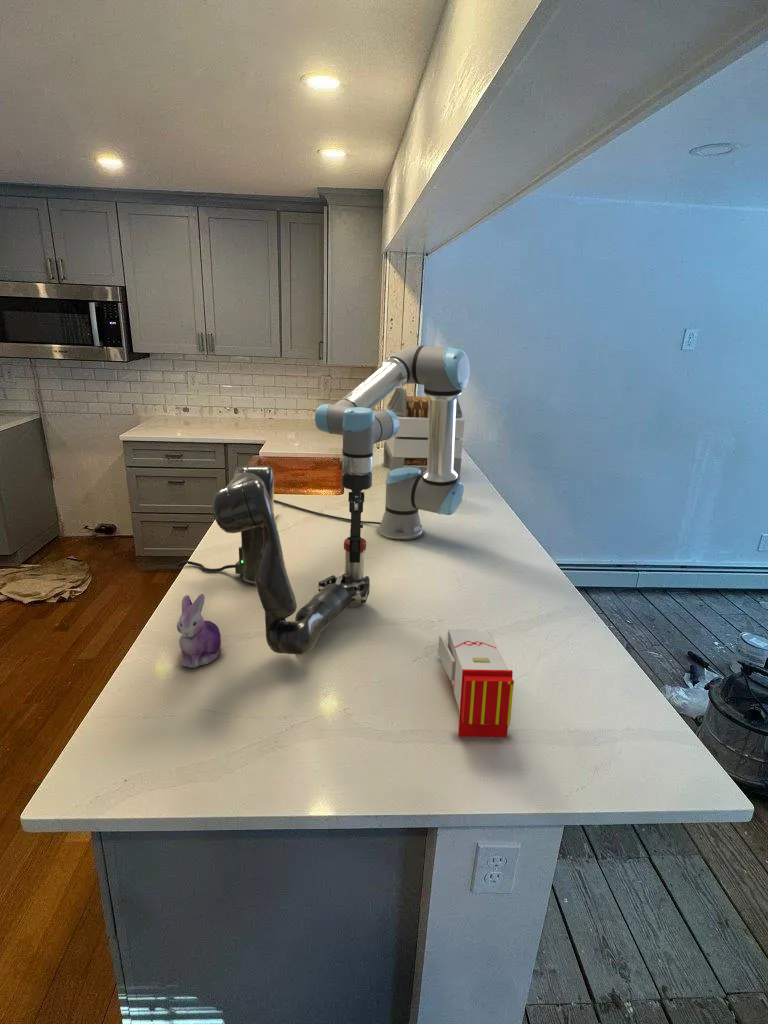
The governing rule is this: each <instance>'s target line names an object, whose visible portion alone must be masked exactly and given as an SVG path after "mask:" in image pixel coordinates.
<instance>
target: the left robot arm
mask: <svg viewBox="0 0 768 1024" xmlns="http://www.w3.org/2000/svg"><path fill="white" fill-rule="evenodd" d="M274 500H275V472H274V470H273V468H272V466H271V465H240V466H238V467H236V468H235V470H234V472H233V476H232V478H231V480H230V481H229V483H228V484H227V485H226V486H225V487H223V488H221V489H219V490H217V491H216V492H215V493H214V495H213V497H212V513H213V517H214V520H215V521H216V523H217V525H218V527H219V528H220V529H221V530H222V531H224V532H225V533H227V534H238V533H240V541H241V542H240V543H241V546H239V547H238V561H237V562H235V564H227V565H224V566H221V567H218V568H208V567H205V566H204V565H203V564H202V563H199V562H196V561H191V560H184V561H181V562H179V563H178V564H177V566H176V567H181V566H183V565H192V566H196V567H199V568H200V569H201V570H202V571H204V572H210V573H216V572H217V573H218V572H222V571H225V570H226V569H234V570H235V571H234V572H235V575H239V578H240V579H242V580H243V581H244V582H245V583H247V584H249V585H255V588H256V592H257V595H258V599H259V601H260V603H261V607H262V609H263V612H264V624H265V625H264V626H265V641H266V644H267V646H268V647H269V648H270V650H271V651H273V653H276V654H283V655H299V656H300V655H305V654H308V653H309V652H311V651H312V650H313V649H314V647H315V646H316V644H317V642H318V639H319V637H320V635H321V632H322V631H323V630H324V629H325V628H326V627H327V626H328V625H329V624H331V623H333V622H334V621H335V620H336V619H337V618H338V617H339V616H340V615H342V613H343V612H344V611H345V610H346V609H348V607H349V603H350V602H352V601H354V600H355V599H359V600H361V602H362V604H365V603H366V602H367V600H368V597H369V596H370V592H371V591H370V588H371V580H370V579H371V578H370V576H368V575H365V576H363V579H362V580H361V582H358V583H356V582H354V583H352V584H350V585H346V584H345V572H344V573H343V574H341V575H338V576H337V577H336V575H334V574H333V575H330V576H328V577H326V578H323V579H322V580H319V581H318V582H317V583H318V585H317V586H318V587H317V588H318V592H316V594H314V596H313V597H312V598H311V599H310V600H309V601H308V602H306V604H305V605H304V606H302V607H301V608H300V609H298V611H297V608H298V603H297V599H296V595H295V593H294V590H293V587H292V585H291V581H290V578H289V575H288V572H287V568H286V564H285V559H284V553H283V548H282V542H281V538H280V532H279V528H278V524H277V518H276V516H275V502H274ZM275 518H276V519H275ZM187 563H188V564H187ZM359 587H360V589H359ZM296 611H297V612H296ZM295 613H296V614H295ZM294 614H295V618H294V620H293V621H292V620H287V618H289V617H291V616H292V615H294Z"/></svg>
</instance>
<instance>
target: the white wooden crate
mask: <svg viewBox="0 0 768 1024" xmlns="http://www.w3.org/2000/svg"><path fill="white" fill-rule="evenodd" d="M407 394H408V393H407V390H406V389H404V388H403V386H402V387H401V388H395V389H394V392H393V394H392V395H391V398H390V400H389V402H388V404H387V405H386V410H390V411H392V412H394V413H395V414H396V415H397V417H398V419H399V424H400V426H399V430H398V432H397V434H396V435H395V436H393V437H391V438H390V439H388V440H384V441H383V466H384V467H388V468H389V472H390V471H391V470H393V469H397V468H405V466H406V467H409V466H411V467H417V466H418V467H427V454H428V409H429V398H428V397H427V396H415V395H414V396H413V395H412V396H411V395H407ZM464 429H465V419H464V418H463V411H462V408H461V405H460V402H459V398H458V397H457V399H456V421H455V444H454V467H453V470H454V471H455V472H456V473H457V474H458V482H461V472H462V461H463V460H462V453H463V442H464V441H463V440H462V439H463V438H464V431H465V430H464Z"/></svg>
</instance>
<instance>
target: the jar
mask: <svg viewBox="0 0 768 1024" xmlns="http://www.w3.org/2000/svg"><path fill="white" fill-rule="evenodd" d="M344 552H345V553H344V554H345V556H344V557H345V558H344V564H345V565H344V573H345V584H346V585H350V584H352V583H354V582H356V583H358V582H361V580H362V579H363V578H364V574H365V573H364V571H365V568H364V567H365V551H363V552H360V563H350V562H349V554H350V552H347V551H346V550H344ZM359 589H360V587H359ZM362 604H363V603H362V602H361V600H359V599H355V600H354V601H352V602H350V603H349V605H348V607H349V606H350V607H359V606H361V605H362Z"/></svg>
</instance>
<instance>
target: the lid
mask: <svg viewBox="0 0 768 1024" xmlns="http://www.w3.org/2000/svg"><path fill="white" fill-rule="evenodd" d="M343 549H344V551H347V552H350V540H347V538H345V539H344V541H343ZM366 550H367V540H366V539H365V538H363V537H361V543H360V552H363V551H364V552H365V551H366Z"/></svg>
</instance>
